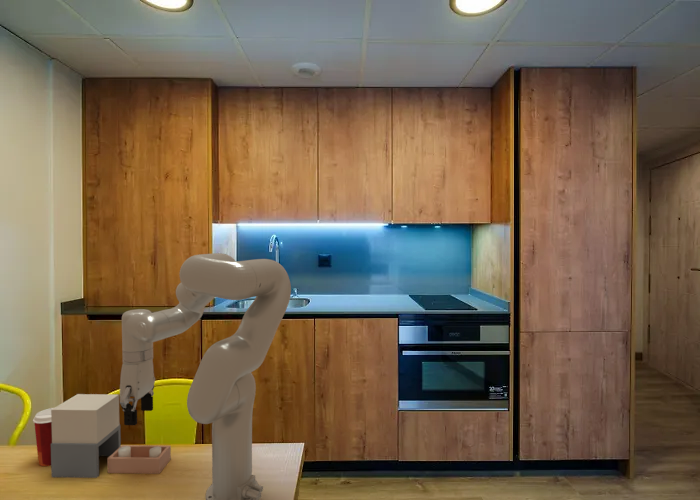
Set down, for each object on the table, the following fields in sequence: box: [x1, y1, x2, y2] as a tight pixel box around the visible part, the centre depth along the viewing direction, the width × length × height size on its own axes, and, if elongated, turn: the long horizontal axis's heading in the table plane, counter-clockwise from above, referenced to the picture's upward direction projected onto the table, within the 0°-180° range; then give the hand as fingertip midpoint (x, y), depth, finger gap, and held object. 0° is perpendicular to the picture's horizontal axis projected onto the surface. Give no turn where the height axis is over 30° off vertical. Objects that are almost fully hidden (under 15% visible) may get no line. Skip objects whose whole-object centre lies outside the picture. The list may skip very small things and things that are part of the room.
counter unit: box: [50, 393, 122, 479], centre depth 114 cm, size 12×11×18 cm
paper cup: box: [32, 407, 54, 467], centre depth 116 cm, size 8×8×14 cm
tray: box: [106, 444, 172, 475], centre depth 115 cm, size 14×7×5 cm, turn 90°
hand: (139, 417), depth 114 cm, fingers open, 8 cm apart
